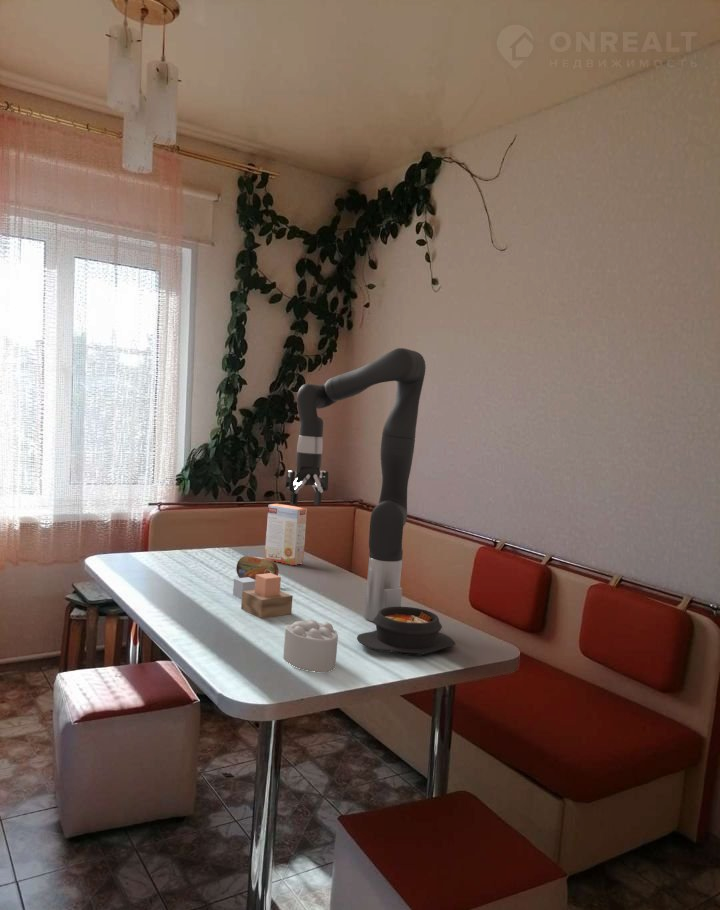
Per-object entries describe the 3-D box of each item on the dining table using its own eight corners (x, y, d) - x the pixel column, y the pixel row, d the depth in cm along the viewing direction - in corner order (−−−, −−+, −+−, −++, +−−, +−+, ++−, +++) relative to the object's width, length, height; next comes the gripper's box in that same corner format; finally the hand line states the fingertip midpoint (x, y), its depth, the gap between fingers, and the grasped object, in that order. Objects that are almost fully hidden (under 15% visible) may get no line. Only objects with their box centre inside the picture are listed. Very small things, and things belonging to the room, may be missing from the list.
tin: (234, 579, 231) (236, 554, 230) (240, 578, 234) (242, 552, 233) (273, 588, 224) (275, 561, 223) (278, 586, 227) (280, 560, 226)
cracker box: (303, 564, 261) (308, 507, 260) (293, 566, 256) (298, 509, 255) (274, 557, 269) (278, 502, 267) (263, 559, 263) (267, 503, 262)
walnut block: (291, 613, 197) (292, 595, 197) (260, 618, 191) (262, 600, 190) (271, 604, 205) (272, 587, 205) (241, 608, 198) (242, 591, 198)
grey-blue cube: (256, 597, 212) (257, 580, 211) (241, 599, 208) (243, 582, 208) (247, 593, 215) (248, 577, 215) (232, 595, 212) (234, 578, 212)
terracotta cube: (279, 594, 197) (280, 577, 197) (264, 596, 194) (265, 578, 194) (269, 590, 201) (270, 573, 201) (254, 592, 198) (255, 574, 197)
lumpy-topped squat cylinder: (315, 650, 169) (318, 614, 169) (346, 668, 159) (349, 630, 158) (277, 656, 163) (280, 619, 163) (306, 675, 153) (309, 636, 152)
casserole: (433, 633, 190) (436, 602, 189) (468, 658, 172) (471, 624, 172) (345, 637, 180) (348, 605, 180) (373, 663, 163) (376, 628, 163)
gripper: (297, 452, 205) (293, 507, 206) (335, 453, 214) (331, 506, 215) (282, 449, 211) (278, 504, 212) (320, 450, 220) (316, 502, 221)
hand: (305, 505), depth 213 cm, fingers open, 8 cm apart
